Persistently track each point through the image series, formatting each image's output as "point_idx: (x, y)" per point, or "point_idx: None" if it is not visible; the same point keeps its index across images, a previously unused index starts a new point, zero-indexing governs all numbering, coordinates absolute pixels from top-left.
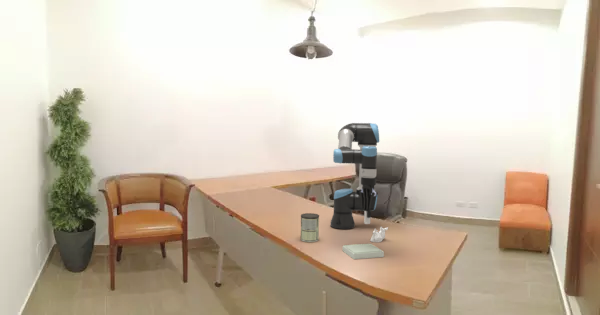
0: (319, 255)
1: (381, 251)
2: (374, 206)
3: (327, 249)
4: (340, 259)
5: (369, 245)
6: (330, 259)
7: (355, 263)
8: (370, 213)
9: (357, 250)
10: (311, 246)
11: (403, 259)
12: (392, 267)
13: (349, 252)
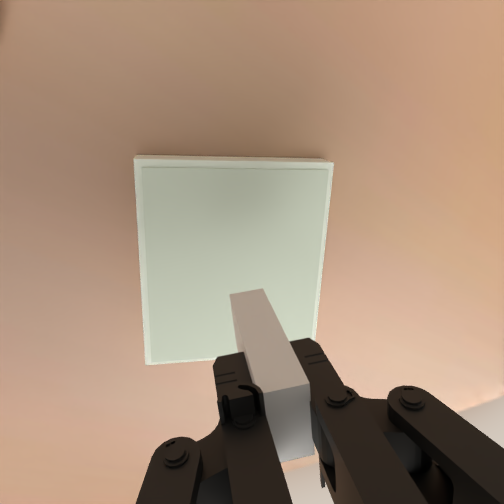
0: None
1: (326, 177)
2: (486, 437)
3: (102, 414)
4: None
5: (190, 200)
6: None
7: (359, 347)
8: (337, 378)
9: None
10: (27, 479)
11: (402, 56)
12: (474, 202)
13: None
